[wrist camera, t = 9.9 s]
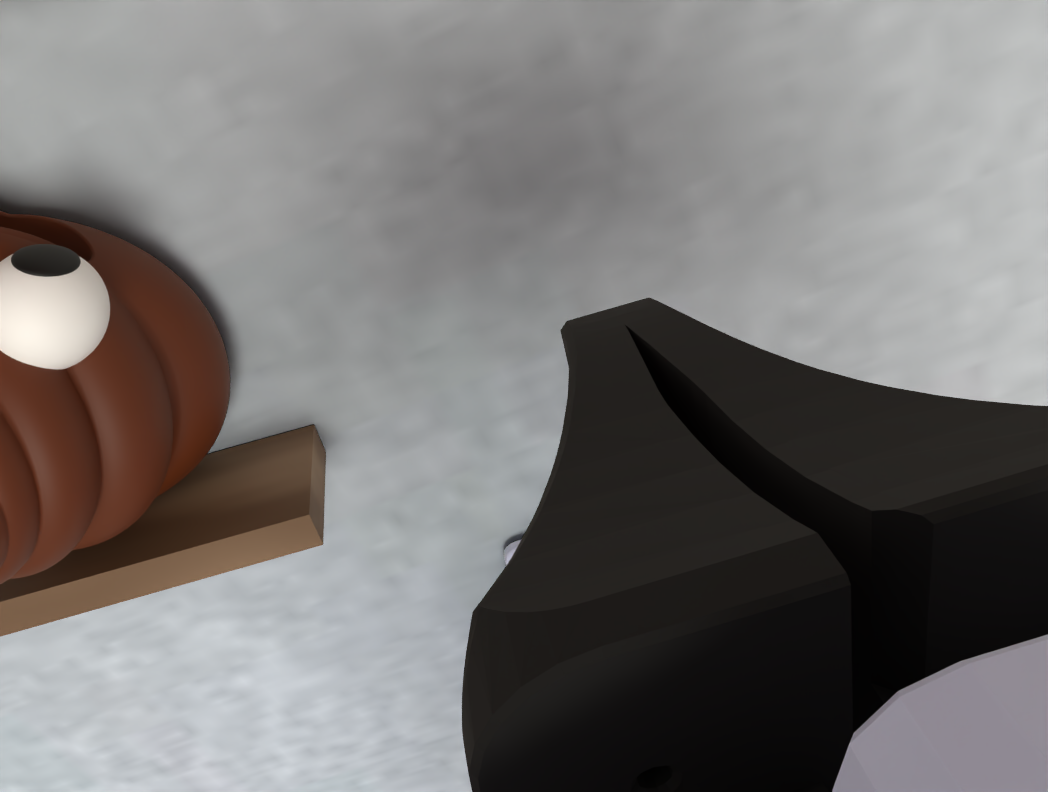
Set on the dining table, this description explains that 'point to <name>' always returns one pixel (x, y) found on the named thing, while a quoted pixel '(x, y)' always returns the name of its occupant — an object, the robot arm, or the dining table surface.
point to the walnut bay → (189, 532)
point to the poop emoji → (95, 387)
